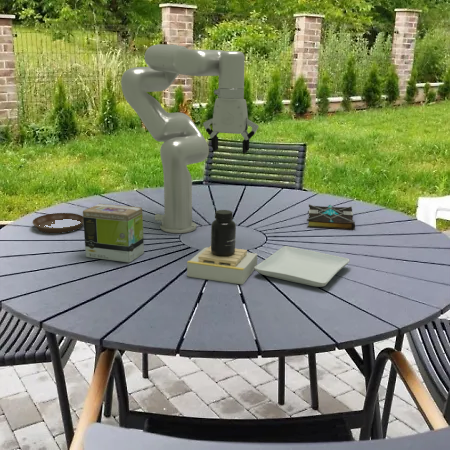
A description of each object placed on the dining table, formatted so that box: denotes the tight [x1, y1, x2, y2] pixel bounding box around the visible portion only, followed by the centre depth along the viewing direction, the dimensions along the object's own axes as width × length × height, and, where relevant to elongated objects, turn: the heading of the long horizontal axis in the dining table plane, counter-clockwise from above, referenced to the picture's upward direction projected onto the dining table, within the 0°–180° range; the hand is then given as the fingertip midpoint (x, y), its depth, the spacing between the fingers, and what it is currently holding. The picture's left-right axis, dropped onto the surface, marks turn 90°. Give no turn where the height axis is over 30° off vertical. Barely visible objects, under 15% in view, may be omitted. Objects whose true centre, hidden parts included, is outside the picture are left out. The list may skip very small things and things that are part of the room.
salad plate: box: [254, 245, 350, 288], centre depth 163 cm, size 21×21×3 cm
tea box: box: [82, 203, 145, 264], centre depth 172 cm, size 15×10×15 cm, turn 71°
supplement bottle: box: [210, 209, 237, 257], centre depth 159 cm, size 7×7×12 cm
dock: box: [186, 245, 258, 285], centre depth 162 cm, size 16×14×6 cm
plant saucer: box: [32, 212, 84, 234], centre depth 200 cm, size 18×18×3 cm
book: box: [306, 203, 356, 231], centre depth 212 cm, size 22×17×5 cm
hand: (230, 151), depth 176 cm, fingers open, 9 cm apart
